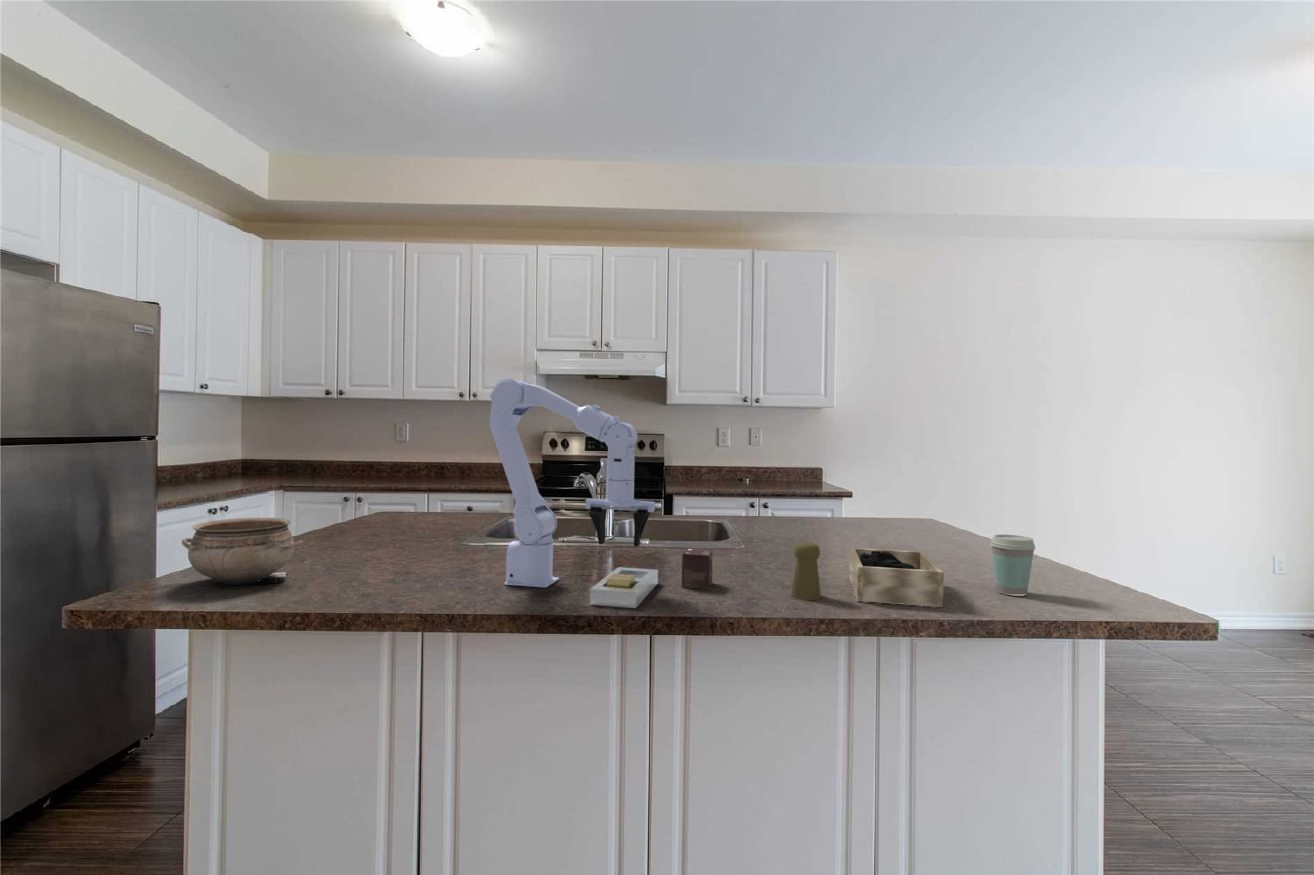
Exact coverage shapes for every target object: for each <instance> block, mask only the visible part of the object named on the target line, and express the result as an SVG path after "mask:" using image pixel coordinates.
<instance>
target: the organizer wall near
mask: <svg viewBox="0 0 1314 875" xmlns="http://www.w3.org/2000/svg"><path fill="white" fill-rule="evenodd" d="M937 599H938V571H934V570H917V569H901V568H884V567H868V566H863V600H862V601H876V602H891V603H904V604H914V605H925V606H937Z"/></svg>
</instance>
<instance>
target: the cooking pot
mask: <svg viewBox="0 0 1314 875" xmlns="http://www.w3.org/2000/svg"><path fill="white" fill-rule="evenodd" d="M290 523H291V520H290V519H286V518H278V517H241V518H240V517H239V518H229V519H220V520H219V519H218V520H212V521H205V522H199V523H197V524H194V525H192V529H193V530H194V531H195V533H194V534H193V537H192V538H191V537H186V538H183V539H182V540H181V544H182V546H183V547H184V548H186V549H187V550H188V551H187V556H188V561H189V563H190V565H191V567H192V568H193V569H194V570H195V571H196V572H198V573H199V574H200V575H203V576H205V577H207V578H209V579H212V580H214V581H217V582H219V583H222V584H224V585H226V586H243V585H252V584H255V583H258V582H257V581H258V580H261V579H262V580H264V579H265V578H267V577H268V576H270V575H272V574H274V573H276V572H277V571H279V570H280V569H282V568H283V567H284V566H285V565H287V563H288V562H289V561H290V559H291V558H292V556H293V554H294V551H295V548H297V547H299V546H302V545H303V544H304V540H303V539H300V540H297V541H295V542H294V538H293V535H292V532H291V530H290V528H289V526H288V525H289V524H290ZM263 578H264V579H263ZM262 580H261V581H262Z"/></svg>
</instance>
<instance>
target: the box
mask: <svg viewBox="0 0 1314 875" xmlns="http://www.w3.org/2000/svg"><path fill="white" fill-rule="evenodd" d="M681 557H682V558H681V588H685V589H686V588H688V589H689V588H690V589H692V588H693V589H704V590H708V589H710V588H711V586H712V584H713V549H711V550H710V549H697V548H696V549H694V548H693V549H692V548H687V549H685V550H684V551H683V552H682V555H681Z"/></svg>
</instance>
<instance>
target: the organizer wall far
mask: <svg viewBox="0 0 1314 875" xmlns="http://www.w3.org/2000/svg"><path fill="white" fill-rule="evenodd" d="M854 548H855V550H856V552H857V555H858V557H859V558H860V557H861V555H862V554H863V553H866V554H870V555H871V552H872V551H879V552H889V553H890V554H892V555H893V556H895V557H896V558H897V559H898V560H899V561H901V563H906V564H910V565H912V566H913V567H914V568H915V569H917V570H919V564H920V552H921V551H915V550H914V551H913V550H896V549H895V550H893V549H878V548H877V549H875V548H860V547H859V548H857V547H854Z"/></svg>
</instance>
